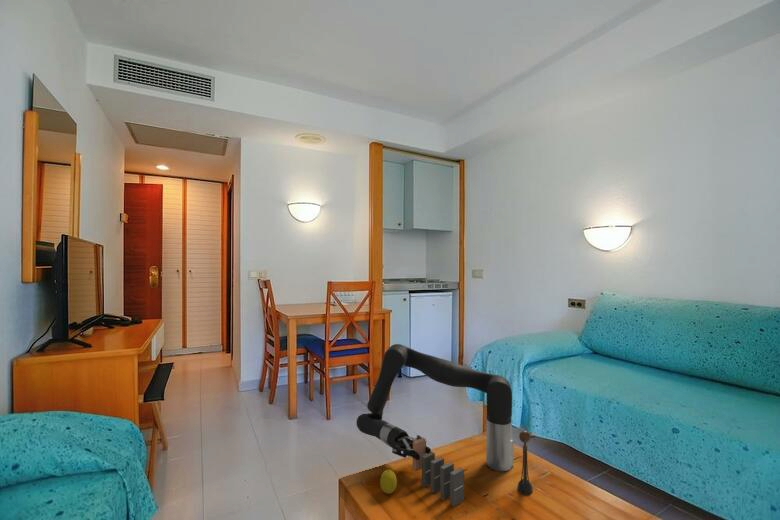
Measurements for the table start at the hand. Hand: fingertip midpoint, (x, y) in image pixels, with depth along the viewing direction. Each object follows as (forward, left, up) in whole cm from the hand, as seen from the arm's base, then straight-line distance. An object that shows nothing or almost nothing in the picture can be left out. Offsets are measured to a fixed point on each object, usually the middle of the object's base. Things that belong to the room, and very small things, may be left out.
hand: (424, 454), depth 128 cm
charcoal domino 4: (-4, +14, -9) cm, 17 cm away
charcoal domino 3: (-3, +10, -9) cm, 14 cm away
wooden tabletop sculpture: (-29, +19, -10) cm, 36 cm away
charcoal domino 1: (-1, +2, -9) cm, 10 cm away
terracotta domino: (+1, -3, -6) cm, 7 cm away
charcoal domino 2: (-2, +6, -9) cm, 11 cm away
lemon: (+15, +1, -10) cm, 17 cm away
